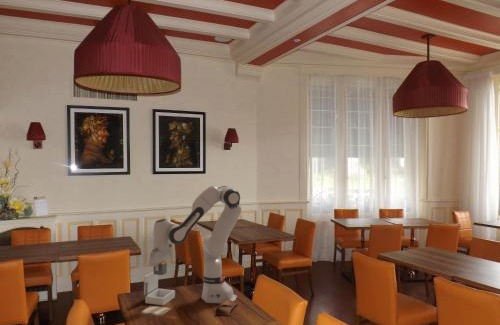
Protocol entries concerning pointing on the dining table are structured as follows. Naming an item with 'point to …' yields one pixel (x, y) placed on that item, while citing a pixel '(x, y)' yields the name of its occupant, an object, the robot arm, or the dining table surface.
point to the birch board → (156, 310)
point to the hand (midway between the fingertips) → (160, 269)
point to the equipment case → (156, 291)
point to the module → (161, 268)
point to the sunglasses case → (226, 307)
